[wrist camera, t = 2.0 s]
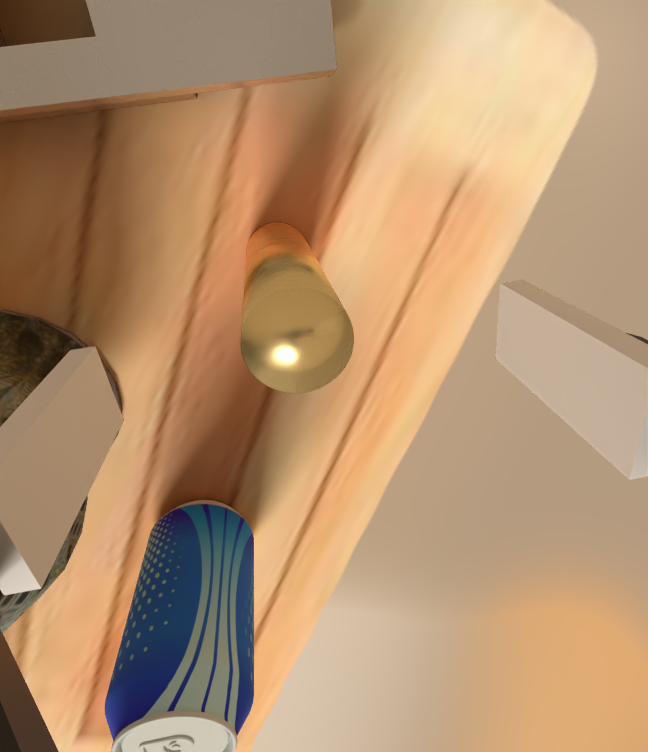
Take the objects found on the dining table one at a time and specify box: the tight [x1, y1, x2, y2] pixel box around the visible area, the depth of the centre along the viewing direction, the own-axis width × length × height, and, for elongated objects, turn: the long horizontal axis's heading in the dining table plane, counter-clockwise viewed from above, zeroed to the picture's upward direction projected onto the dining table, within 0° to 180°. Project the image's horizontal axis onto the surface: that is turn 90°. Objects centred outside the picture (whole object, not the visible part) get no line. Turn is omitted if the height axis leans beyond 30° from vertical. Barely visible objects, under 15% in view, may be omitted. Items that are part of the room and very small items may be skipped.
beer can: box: [105, 500, 254, 752], centre depth 32 cm, size 8×8×16 cm
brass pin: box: [241, 222, 354, 393], centre depth 23 cm, size 4×4×15 cm
